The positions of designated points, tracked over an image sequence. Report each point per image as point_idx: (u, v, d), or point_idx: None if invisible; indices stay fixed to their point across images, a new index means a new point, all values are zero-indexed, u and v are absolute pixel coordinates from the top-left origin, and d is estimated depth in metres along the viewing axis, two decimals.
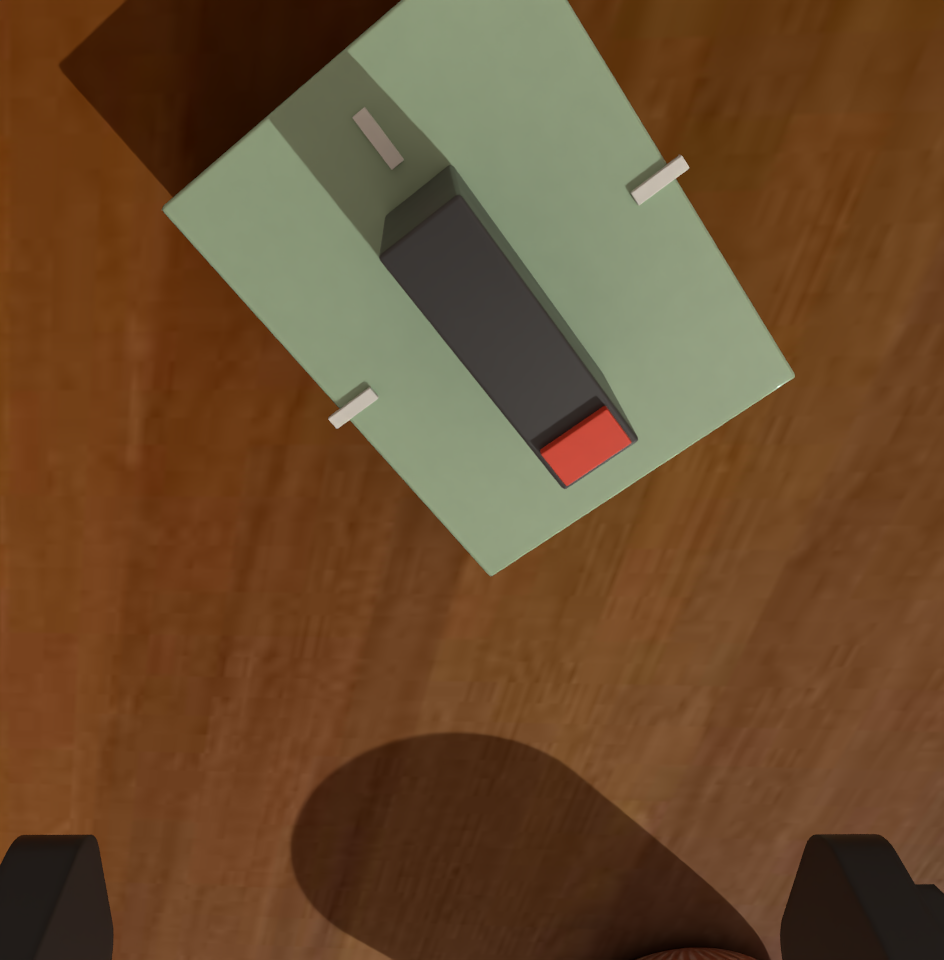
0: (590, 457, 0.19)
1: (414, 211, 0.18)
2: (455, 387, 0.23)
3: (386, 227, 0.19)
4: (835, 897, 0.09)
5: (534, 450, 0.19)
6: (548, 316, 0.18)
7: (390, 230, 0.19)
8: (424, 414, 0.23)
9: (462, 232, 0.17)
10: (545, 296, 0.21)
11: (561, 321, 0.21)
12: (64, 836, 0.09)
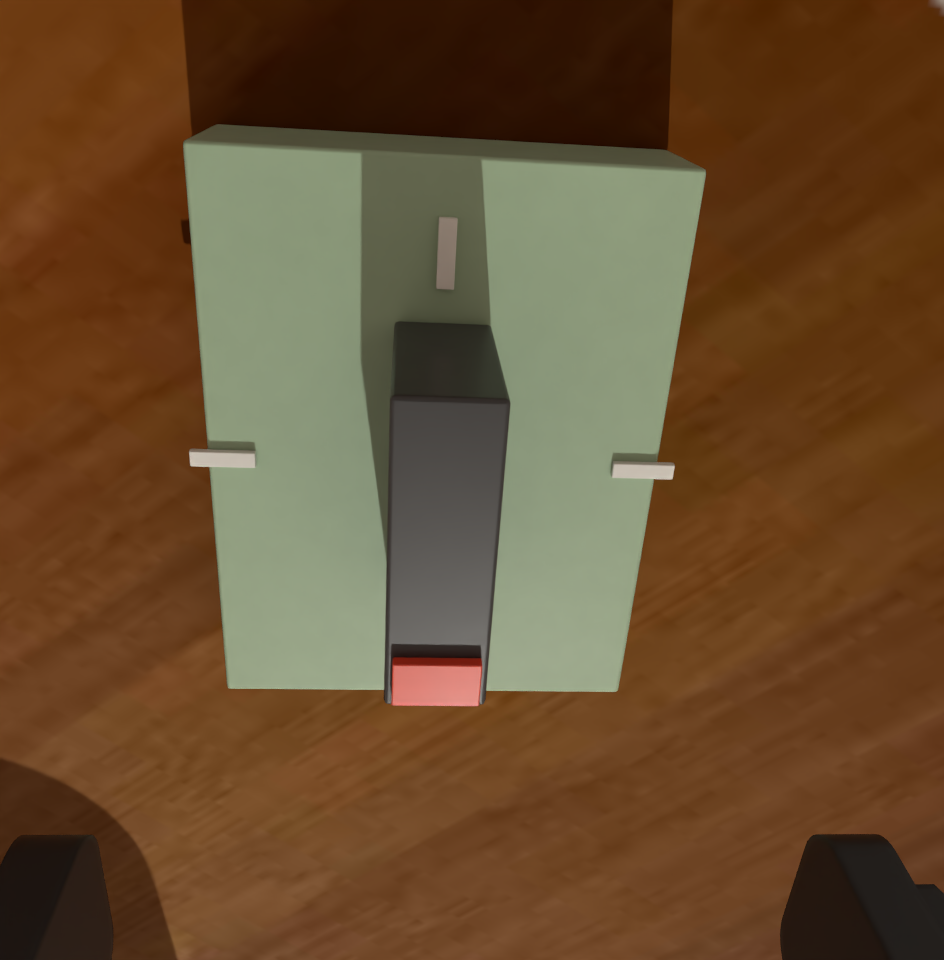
0: (433, 694, 0.17)
1: (443, 362, 0.16)
2: (335, 507, 0.20)
3: (401, 347, 0.17)
4: (835, 897, 0.09)
5: (387, 654, 0.17)
6: (496, 554, 0.16)
7: (407, 360, 0.16)
8: (286, 511, 0.20)
9: (485, 433, 0.15)
10: None
11: None
12: (64, 837, 0.09)
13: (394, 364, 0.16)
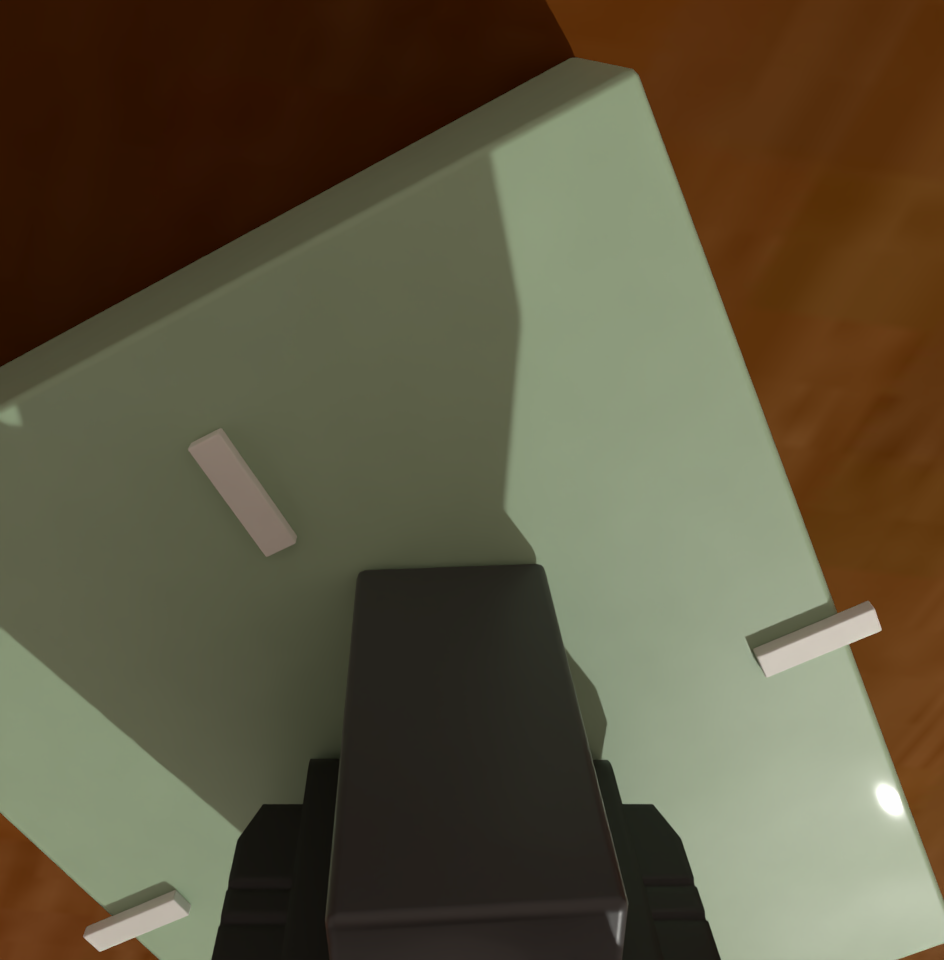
0: None
1: (454, 727, 0.07)
2: None
3: (363, 675, 0.08)
4: None
5: None
6: None
7: (375, 727, 0.07)
8: None
9: None
10: None
11: None
12: None
13: (345, 748, 0.07)
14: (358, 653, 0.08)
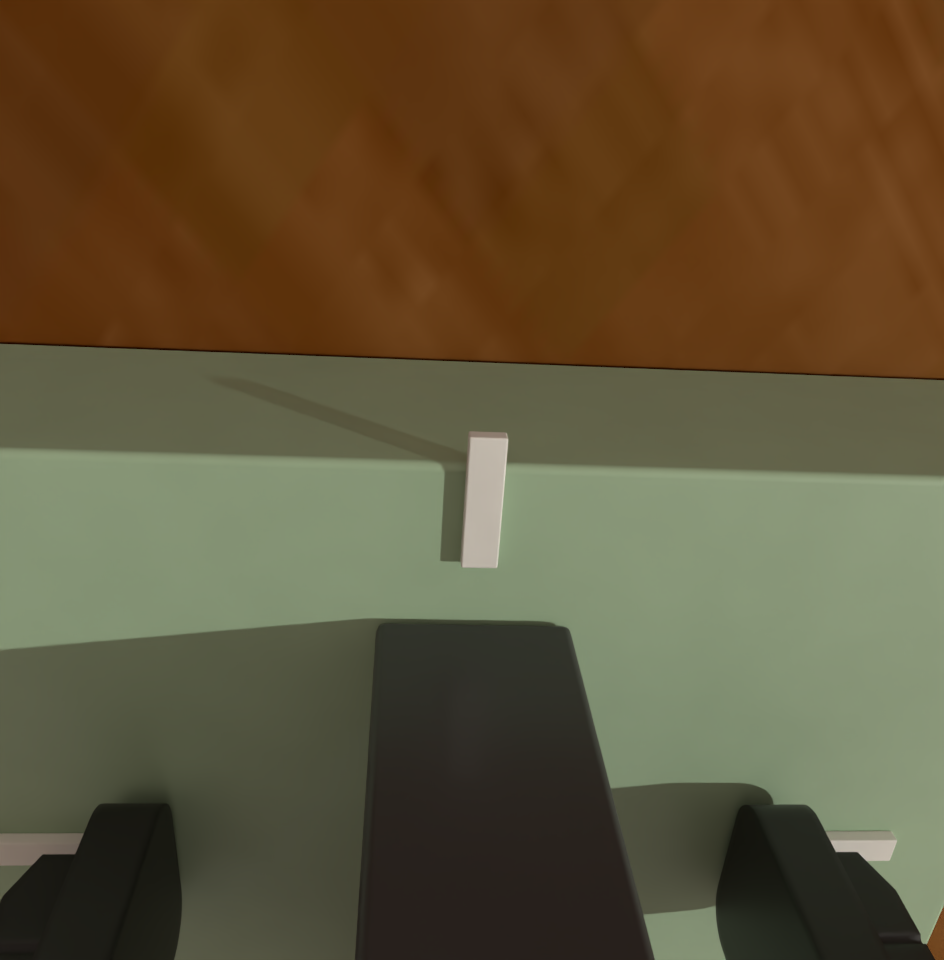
0: None
1: (483, 809, 0.07)
2: None
3: (387, 744, 0.07)
4: (760, 863, 0.10)
5: None
6: None
7: (400, 805, 0.07)
8: None
9: None
10: None
11: None
12: (143, 805, 0.10)
13: (369, 827, 0.07)
14: (380, 718, 0.08)
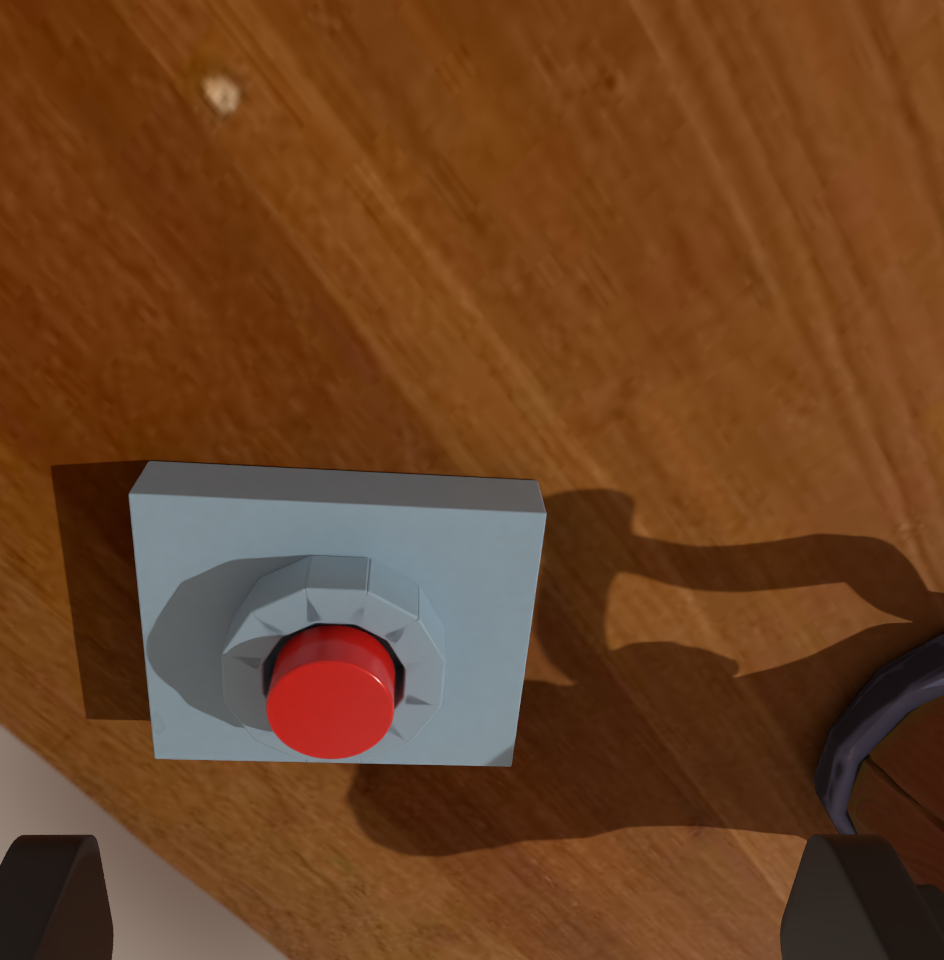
0: None
1: None
2: None
3: None
4: (835, 897, 0.09)
5: None
6: None
7: None
8: None
9: None
10: None
11: None
12: (64, 836, 0.09)
13: None
14: None
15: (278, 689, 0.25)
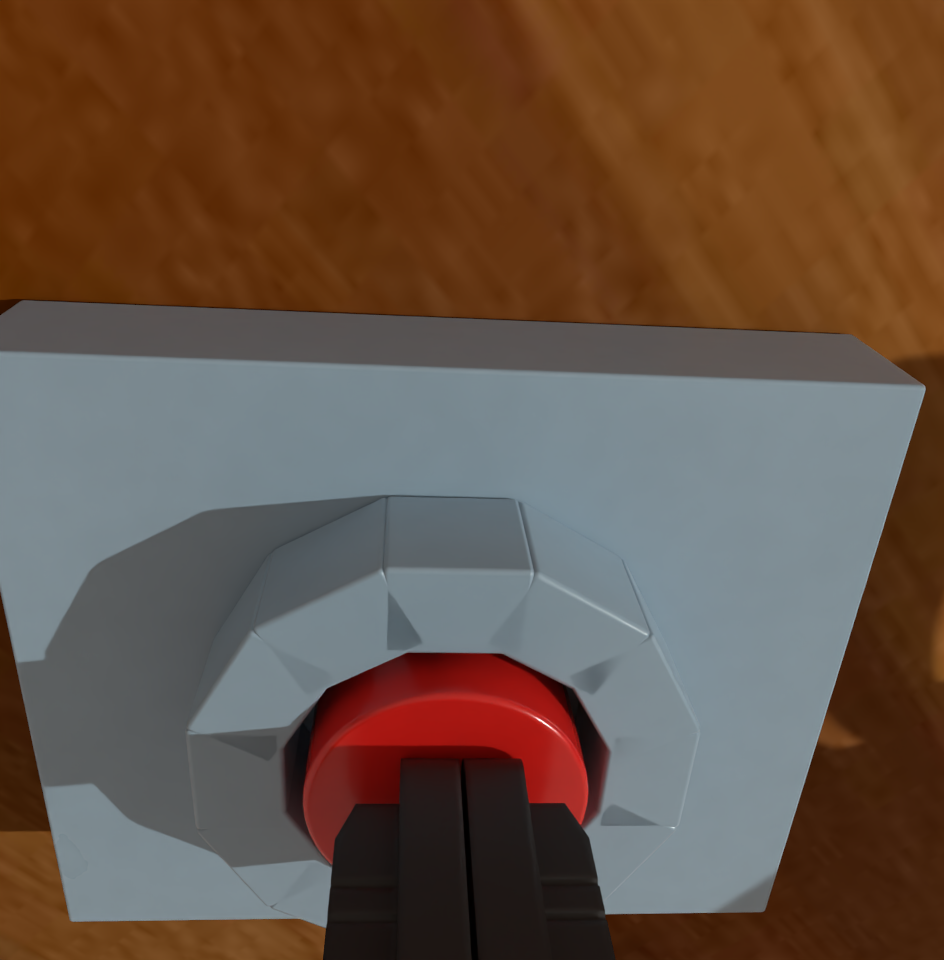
0: None
1: None
2: None
3: None
4: (464, 813, 0.10)
5: None
6: None
7: None
8: None
9: None
10: None
11: None
12: (439, 758, 0.10)
13: None
14: None
15: (333, 762, 0.11)
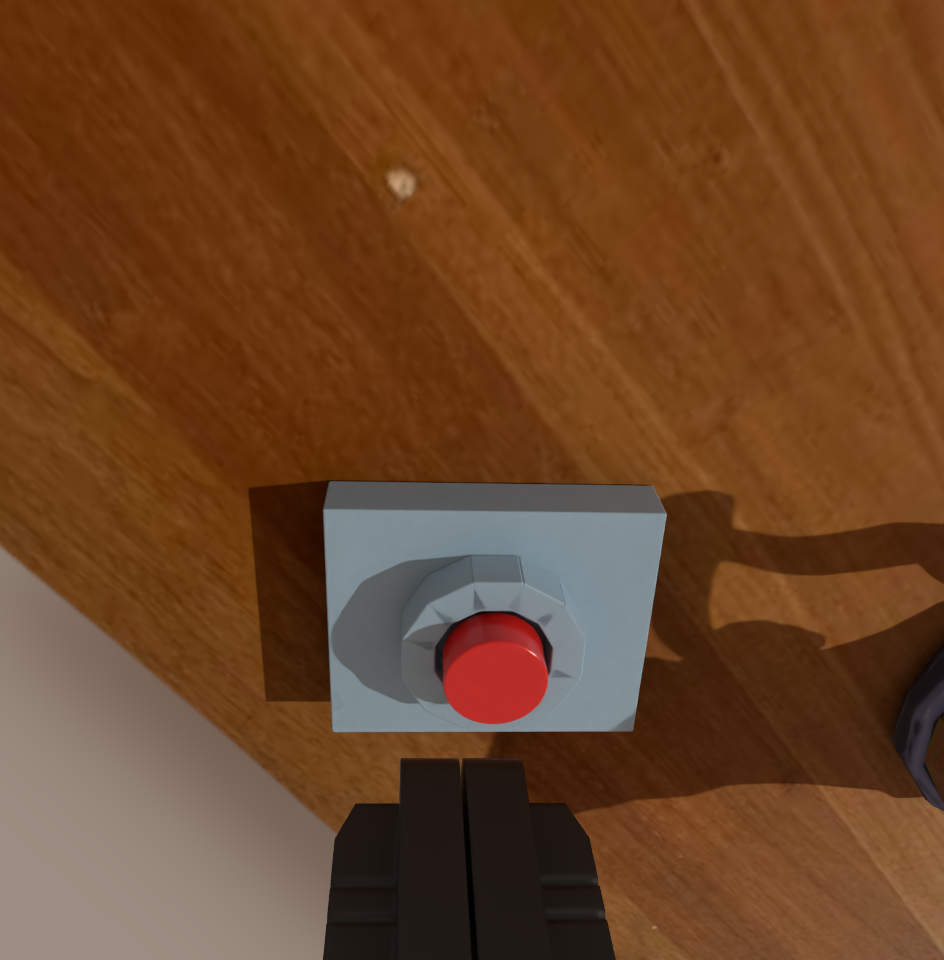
0: None
1: None
2: None
3: None
4: (464, 813, 0.10)
5: None
6: None
7: None
8: None
9: None
10: None
11: None
12: (439, 759, 0.10)
13: None
14: None
15: (455, 666, 0.30)
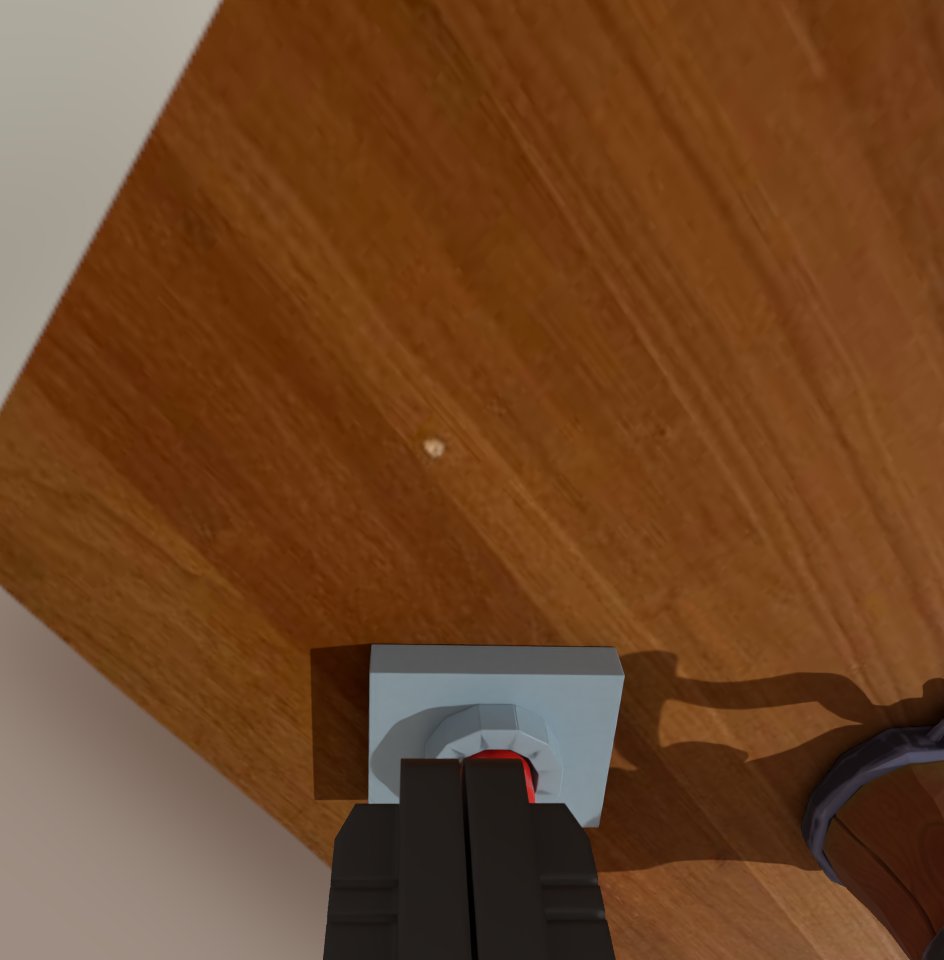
0: None
1: None
2: None
3: None
4: (464, 813, 0.10)
5: None
6: None
7: None
8: None
9: None
10: None
11: None
12: (439, 758, 0.10)
13: None
14: None
15: None
